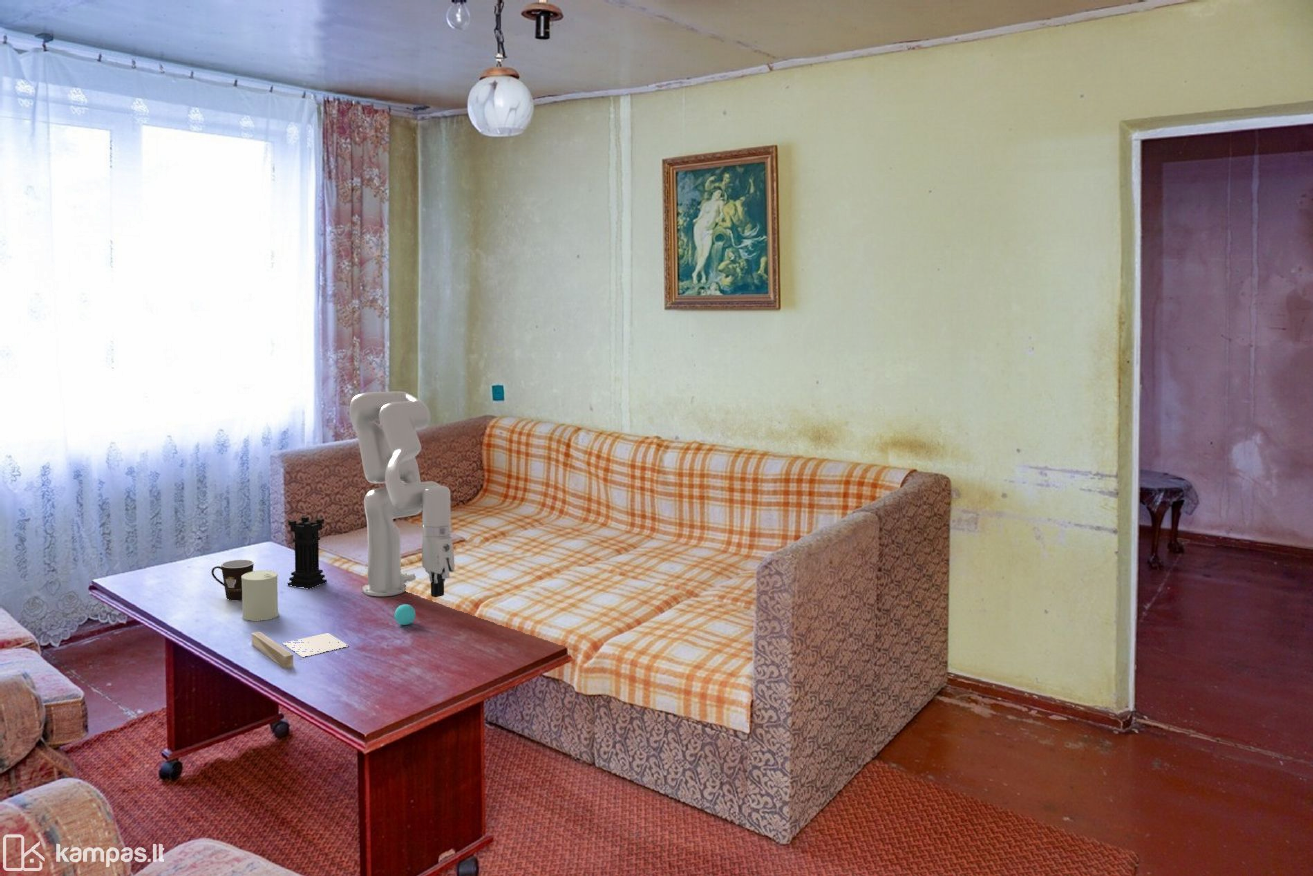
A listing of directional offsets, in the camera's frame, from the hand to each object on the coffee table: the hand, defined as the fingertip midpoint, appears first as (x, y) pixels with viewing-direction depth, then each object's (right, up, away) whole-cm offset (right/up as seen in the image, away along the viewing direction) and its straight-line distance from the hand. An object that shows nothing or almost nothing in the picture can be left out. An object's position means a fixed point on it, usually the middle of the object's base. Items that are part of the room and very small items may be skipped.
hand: (437, 595), depth 257 cm
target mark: (-26, -9, -22) cm, 35 cm away
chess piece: (-46, -1, +27) cm, 53 cm away
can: (-48, -5, -3) cm, 48 cm away
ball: (-8, -4, -5) cm, 10 cm away
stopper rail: (-33, -10, -30) cm, 46 cm away
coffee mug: (-62, -3, +13) cm, 63 cm away
